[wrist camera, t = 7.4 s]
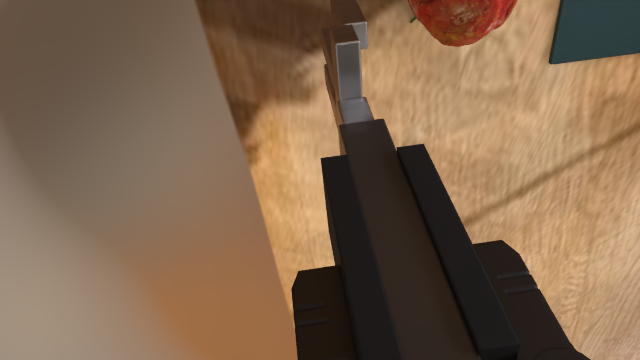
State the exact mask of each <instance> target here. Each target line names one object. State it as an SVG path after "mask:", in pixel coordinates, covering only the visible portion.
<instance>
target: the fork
mask: <svg viewBox="0 0 640 360" xmlns="http://www.w3.org/2000/svg"><path fill="white" fill-rule="evenodd" d="M330 2H331V12H332V15H333V17H334V20H335V23H336V26H335V27H330V28H324V29H321V38H322V48H323V53H324V56H325V60H326V63H327V64H325V65H324V69H325V80H326V86H327V90H328V94H329V97H330V101H331V105H332V109H333V113H334V117H335V120H336V124H337V128H338V134H339V146H340V155H347V154H348V157H349V160H350V164H351V168H352V171H353V175H354V179H355V182H356V186H357V190H358V193H359V197H360V201H361V204H362V208H363V212H364V215H365V219H366V223H367V226H368V230H369V234H370V237H371V241H372V245H373V248H374V252H375V256H376V259H377V263H378V267H379V271H380V274H381V278H382V282H383V285H384V289H385V293H386V296H387V300H388V304H389V307H390V311H391V315H392V318H393V322H394V326H395V329H396V333H397V337H398V340H399V344H400V348H401V351H402V355H403V359H404V360H481V358H480V356H479V355H478V353H477V351H476V348H475V346H474V343H473V341H472V339H471V336H470V334H469V331H468V329H467V326H466V324H465V321H464V319H463V316H462V314H461V311H460V309H459V306H458V304H457V301H456V299H455V296H454V294H453V291H452V289H451V286H450V284H449V281H448V279H447V276H446V274H445V271H444V269H443V267H442V264H441V262H440V259H439V257H438V254H437V252H436V249H435V247H434V244H433V242H432V239H431V237H430V234H429V232H428V229H427V227H426V224H425V222H424V219H423V217H422V214H421V212H420V209H419V207H418V204H417V202H416V200H415V197H414V195H413V192H412V190H411V187H410V185H409V182H408V180H407V177H406V175H405V172H404V170H403V167H402V165H401V162H400V160H399V157H398V155H397V151H396V148H395V146H394V143H393V141H392V138H391V136H390V133H389V131H388V128H387V126H386V124H385V121H384V119H377V120H374V118H373V115H372V112H371V110H370V107H369V104H368V102H367V99H366V97H363V93H362V73H361V52H360V49H367V48H368V34H367V21H366V19H365V17H364V15H363V13H362V11H361V9H360V7H359V5H358V3H357V1H356V0H330Z"/></svg>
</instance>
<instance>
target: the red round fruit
mask: <svg viewBox="0 0 640 360" xmlns="http://www.w3.org/2000/svg"><path fill="white" fill-rule="evenodd" d="M408 2H409V5H410V7H411V8H412V11H413V13H414V15H415V17H414V18H413V19H412V20H411V21H410V23H412V22H413V21H414V20H415V19H416V18H417V19H418V20H419V21H420V22H421V23H422V24H423V25H424V26H425V27H426V29H427V30H428V31H429V32H430V34H431V35H432V36H433V37H434V38H436V39H437V40H439V41H440V42H441V43H442V44H443V45H448V46H456V47H460V46H464V45H469V44H473V43H475V42H477V41H478V40H480V39H482V38H483V37H484V36H486V35H487V34H488V33H489V32H490V31H491V30H493V29H496V28H498V27H500V26H501V25H502V24H503V23H504V22H505V21H506V19H507V18H508V17H509V15H510V14H511V12H512V10H513V8H514V7H515V5H516V3H517V0H408Z"/></svg>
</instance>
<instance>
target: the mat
mask: <svg viewBox="0 0 640 360" xmlns="http://www.w3.org/2000/svg"><path fill="white" fill-rule="evenodd" d="M635 53H640V0H561V3H560V8H559V13H558V18H557V23H556V29H555V34H554V39H553V44H552V49H551V54H550V60H549V63H550V64H559V63H567V62H574V61H582V60H590V59H597V58H605V57H612V56H620V55H628V54H635Z"/></svg>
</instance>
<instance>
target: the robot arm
mask: <svg viewBox="0 0 640 360" xmlns="http://www.w3.org/2000/svg"><path fill="white" fill-rule="evenodd" d="M397 155H398V157H399V160H400V162H401V165H402V167H403V170H404V172H405V175H406V177H407V180H408V182H409V185H410V187H411V190H412V192H413V195H414V197H415V200H416V202H417V204H418V207H419V209H420V212H421V214H422V217H423V219H424V222H425V224H426V227H427V229H428V232H429V234H430V237H431V239H432V242H433V244H434V247H435V249H436V252H437V254H438V257H439V259H440V262H441V264H442V267H443V269H444V271H445V274H446V276H447V279H448V281H449V284H450V286H451V289H452V291H453V294H454V296H455V299H456V301H457V304H458V306H459V309H460V311H461V314H462V316H463V319H464V321H465V324H466V326H467V329H468V331H469V334H470V336H471V339H472V341H473V343H474V346H475V348H476V351H477V353H478V355H479V356H480V358H481V360H590V359H589V358H588V357H586V356H585V355H583V354H582V353H580V352H578V351H577V350H576V349H575V348H574V347H573V345H572V344H571V343H570V341H569V340H568V338H567V336H566V335H565V333H564V331H563V329H562V328H561V326H560V324H559V322H558V321H557V319H556V317H555V315H554V314H553V312H552V310H551V308H550V307H549V305H548V303H547V302H546V300H545V298H544V296H543V295H542V293H541V291H540V289H538V288H537V284H536V282H535V281H534V279H533V277H532V275H530V274H529V270H528V268H527V267H526V265H525V263H524V261H523V260H522V258H521V256H520V254H519V253H517V252H516V251H515V250H514V249H512V248H511V247H510V246H509V245H508V244H506V243H505V242H504V241H503V240H498V241H491V242H484V243H478V244H472V242H471V240H470V238H469V236H468V234H467V232H466V230H465V228H464V226H463V224H462V222H461V220H460V218H459V216H458V214H457V211H456V209H455V207H454V205H453V203H452V201H451V199H450V197H449V195H448V193H447V191H446V189H445V187H444V185H443V183H442V181H441V179H440V176H439V174H438V172H437V170H436V168H435V166H434V164H433V162H432V160H431V158H430V156H429V154H428V152H427V150H426V148H425V146H424V144H418V145H411V146H404V147H397ZM321 165H322V174H323V183H324V192H325V200H326V209H327V218H328V227H329V234H330V239H331V245H332V250H333V256H334V261H335V266H330V267H323V268H316V269H309V270H302V271H298V274H297V276H296V279H295V281H294V284H293V286H292V300H293V310H294V323H295V334H296V345H297V356H298V360H404V359H403V355H402V351H401V348H400V344H399V340H398V337H397V333H396V329H395V326H394V322H393V318H392V315H391V311H390V307H389V304H388V300H387V296H386V293H385V289H384V285H383V282H382V278H381V274H380V271H379V267H378V263H377V259H376V256H375V252H374V248H373V245H372V241H371V237H370V234H369V230H368V226H367V223H366V219H365V215H364V212H363V208H362V204H361V201H360V197H359V193H358V190H357V186H356V182H355V179H354V175H353V171H352V168H351V164H350V160H349V157H348V154H347V155H340V156H333V157H326V158H321Z"/></svg>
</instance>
